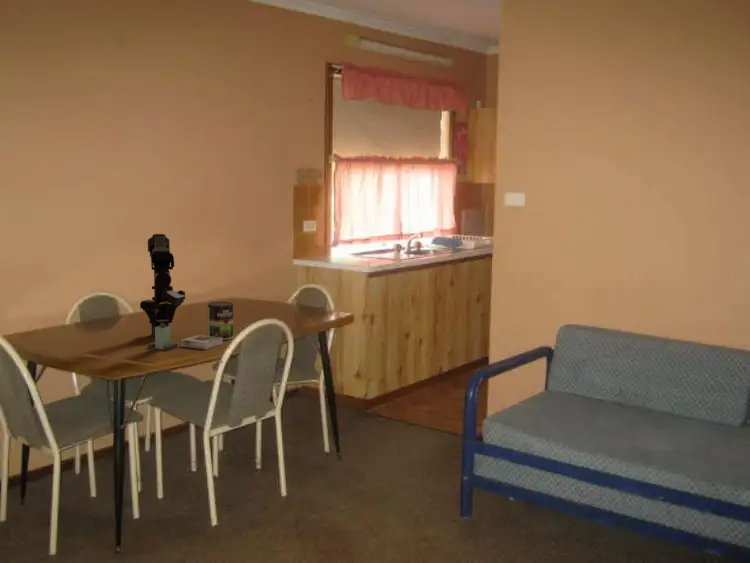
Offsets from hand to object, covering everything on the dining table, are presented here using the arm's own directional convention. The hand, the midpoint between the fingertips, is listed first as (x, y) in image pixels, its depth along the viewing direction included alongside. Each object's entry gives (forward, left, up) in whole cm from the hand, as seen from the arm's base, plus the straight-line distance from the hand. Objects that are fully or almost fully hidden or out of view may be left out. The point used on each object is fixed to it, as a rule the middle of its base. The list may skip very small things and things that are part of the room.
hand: (162, 324), depth 308 cm
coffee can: (+6, +29, -10) cm, 31 cm away
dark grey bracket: (0, 0, -10) cm, 10 cm away
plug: (0, 0, -9) cm, 9 cm away
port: (+10, +11, -10) cm, 18 cm away
